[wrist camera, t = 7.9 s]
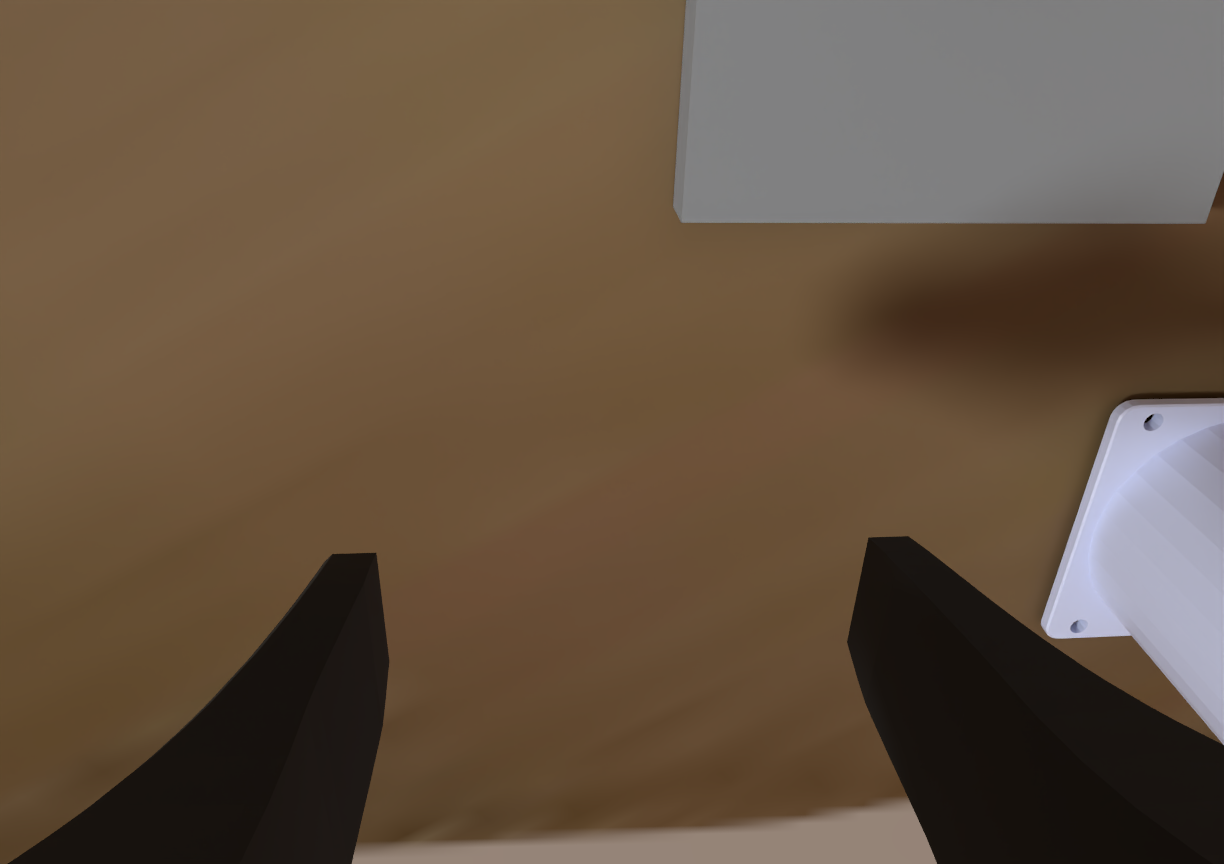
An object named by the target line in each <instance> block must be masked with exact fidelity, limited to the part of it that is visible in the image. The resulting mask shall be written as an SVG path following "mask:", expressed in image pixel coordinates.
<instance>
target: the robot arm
mask: <svg viewBox="0 0 1224 864" xmlns="http://www.w3.org/2000/svg"><path fill="white" fill-rule="evenodd" d="M1152 414H1154V416H1153V417H1152V419H1151V420H1149V421H1148V422H1147V423H1144V421H1145V420H1146V418H1147V417H1149V416H1150V415H1152ZM1077 620H1078V621H1077ZM1076 621H1077V622H1076ZM1074 622H1075V623H1074ZM1041 625H1042V627H1043V629H1044V631H1045V632H1046V633H1047V635H1048V636H1050V637H1052V638H1057V639H1059V638H1083V637H1107V636H1130V635H1132V636H1133V638H1134V639H1135V640H1136V641H1137V642H1138V644H1139V645H1140V646H1141V647H1142V648H1143V650H1144V651H1145V652H1146V653H1147V654H1148V655H1149V657H1150V658H1151V659H1152V660H1153V661H1154V663H1155V664H1156V665H1157V666H1158V667H1159V669H1160V670H1161V671H1162V672H1163V673H1164V674H1165V676H1166V677H1167V678H1168V679H1169V680H1170V682H1171V683H1172V684H1173V685H1174V686H1175V688H1176V689H1177V690H1178V691H1179V692H1180V693H1181V695H1182V696H1183V697H1184V698H1185V699H1186V701H1187V702H1188V703H1189V704H1190V705H1191V707H1192V708H1193V709H1194V710H1195V711H1196V712H1197V714H1198V715H1199V716H1200V717H1201V718H1202V720H1203V721H1204V722H1205V723H1206V724H1207V726H1208V727H1209V728H1210V729H1211V730H1212V731H1213V733H1214V734H1215V735H1216V736H1217V737H1218V739H1219V740H1220V741H1221V742H1222V743H1223V745H1222V744H1220V743H1218V742H1217V741H1215V740H1213V739H1211V738H1209V737H1207V736H1205V735H1203V734H1201V733H1199V732H1197V731H1195V730H1193V729H1191V728H1189V727H1187V726H1185V725H1183V724H1181V723H1179V722H1177V721H1175V720H1173V719H1171V718H1170V717H1168V716H1166V715H1164V714H1162V713H1160V712H1159V711H1157V710H1155V709H1153V708H1151V707H1149V706H1148V705H1146V704H1144V703H1143V702H1141V701H1139V700H1138V699H1136V698H1134V697H1133V696H1131V695H1129V694H1127V693H1126V692H1124V691H1122V690H1121V689H1119V688H1117V687H1116V686H1114V685H1112V684H1111V683H1109V682H1107V681H1105V680H1104V679H1102V678H1101V677H1099V676H1098V675H1096V674H1094V673H1093V672H1091V671H1090V670H1088V669H1087V668H1085V667H1083V666H1082V665H1080V664H1079V663H1077V662H1076V661H1075V660H1073V659H1072V658H1070V657H1069V656H1067V655H1066V654H1064V653H1063V652H1061V651H1060V650H1058V649H1057V648H1055V647H1054V646H1053V645H1051V644H1050V643H1048V642H1047V641H1045V640H1044V639H1042V638H1041V637H1040V636H1038V635H1037V634H1036V633H1034V632H1033V631H1031V630H1030V629H1029V628H1027V627H1026V626H1024V625H1023V624H1022V623H1020V622H1019V621H1018V620H1016V619H1015V618H1014V617H1012V616H1011V615H1010V614H1008V613H1007V612H1006V611H1004V610H1003V609H1002V608H1000V607H999V606H998V605H997V604H995V603H994V602H993V601H991V600H990V599H989V598H987V597H986V596H985V595H984V594H982V593H981V592H980V591H978V590H977V589H976V588H975V587H973V586H972V585H971V584H970V583H968V582H967V581H966V580H964V579H963V578H962V577H961V576H959V575H958V574H957V573H956V572H954V571H953V570H952V569H951V568H949V567H948V566H947V565H945V564H944V563H943V562H942V561H940V560H939V559H938V558H937V557H935V556H934V555H933V554H931V553H930V552H929V551H928V550H926V549H925V548H924V547H922V546H921V545H920V544H918V543H917V542H915V541H914V540H913V539H911V538H910V537H908V536H905V537H873V538H868V543H867V548H866V553H865V557H864V562H863V567H862V572H861V577H860V582H859V587H858V592H857V596H856V601H855V606H854V611H853V616H852V621H851V626H850V631H849V635H848V640H847V643H848V647H849V650H850V654H851V657H852V661H853V664H854V668H855V671H856V675H857V678H858V681H859V684H860V688H861V691H862V694H863V697H864V700H865V703H866V705H867V708H868V710H869V712H870V715H871V717H872V719H873V721H874V724H875V726H876V728H877V730H878V733H879V735H880V737H881V739H882V741H883V744H884V746H885V748H886V750H887V752H888V755H889V757H890V759H891V761H892V763H893V765H894V768H895V770H896V772H897V774H898V776H899V778H900V781H901V783H902V785H903V787H904V789H905V792H906V794H907V796H908V798H909V800H910V802H911V805H912V807H913V809H914V811H915V813H916V815H917V817H918V820H919V822H920V824H921V826H922V828H923V831H924V833H925V835H926V837H927V840H928V842H929V845H930V847H931V849H932V852H933V854H934V857H935V859H936V862H937V864H1224V398H1194V399H1135V400H1129V401H1125V402H1123V403H1122V404H1120V405H1118V406H1117V407H1116V408H1115V409H1114V410H1113V412H1112V414H1111V416H1110V418H1109V421H1108V424H1107V427H1106V430H1105V433H1104V436H1103V439H1102V442H1101V445H1100V448H1099V451H1098V454H1097V457H1096V460H1095V463H1094V466H1093V469H1092V472H1091V475H1090V478H1089V481H1088V484H1087V487H1086V489H1085V492H1084V495H1083V498H1082V501H1081V504H1080V507H1079V510H1078V513H1077V516H1076V519H1075V522H1074V525H1073V528H1072V531H1071V534H1070V537H1069V540H1068V543H1067V546H1066V549H1065V552H1064V555H1063V558H1062V561H1061V564H1060V567H1059V570H1058V573H1057V575H1056V578H1055V581H1054V584H1053V587H1052V590H1051V593H1050V596H1049V599H1048V602H1047V605H1046V608H1045V611H1044V614H1043V617H1042V620H1041ZM388 668H389V655H388V647H387V639H386V630H385V622H384V614H383V605H382V597H381V589H380V580H379V572H378V563H377V555H376V553H356V554H332V555H331V556H330V557H329V558H328V559H327V560H326V561H325V562H324V563H323V565H322V566H321V568H320V569H319V570H318V572H317V573H316V575H315V576H314V577H313V579H312V580H311V581H310V583H309V584H308V586H307V587H306V588H305V590H304V591H303V592H302V594H301V595H300V596H299V598H298V599H297V600H296V602H295V603H294V604H293V605H292V607H291V608H290V609H289V611H288V612H287V613H286V614H285V616H284V617H283V618H282V620H281V621H280V622H279V623H278V624H277V626H276V627H275V628H274V629H273V631H272V632H271V633H270V634H269V635H268V637H267V638H266V639H265V640H264V641H263V643H262V644H261V645H260V646H259V648H258V649H257V650H256V651H255V652H254V654H253V655H252V656H251V657H250V658H249V659H248V660H247V662H246V663H245V664H244V665H243V666H242V667H241V668H240V669H239V670H238V671H237V672H236V674H235V675H234V676H233V677H232V678H231V679H230V680H229V681H228V682H227V683H226V684H225V685H224V687H223V688H222V689H221V690H220V691H219V692H218V693H217V694H216V695H215V696H214V697H213V699H212V700H211V701H210V702H209V703H208V704H207V705H206V706H205V707H204V708H203V709H202V710H201V711H200V712H199V713H198V714H197V715H196V716H195V717H194V718H193V719H192V720H191V721H190V722H189V723H188V724H186V725H185V726H184V727H183V728H182V729H181V730H180V731H179V732H178V733H177V734H176V735H175V736H174V737H173V738H172V739H170V740H169V741H168V742H167V743H166V744H165V745H164V746H163V747H162V748H161V749H160V750H158V751H157V752H156V753H155V754H154V755H153V756H152V757H151V758H149V759H148V760H147V761H146V762H145V763H143V764H142V765H141V766H140V767H139V768H137V769H136V770H135V771H134V772H133V773H131V774H130V775H129V776H128V777H126V778H125V779H124V780H123V781H121V782H120V783H119V784H118V785H116V786H115V787H114V788H113V789H111V790H110V791H109V792H108V793H106V794H105V795H104V796H102V797H101V798H100V799H99V800H97V801H96V802H95V803H94V804H92V805H91V806H90V807H89V808H87V809H86V810H85V811H83V812H82V813H80V814H79V815H78V816H76V817H75V818H74V819H72V820H71V821H69V822H68V823H67V824H65V825H64V826H62V827H61V828H60V829H58V830H57V831H55V832H54V833H53V834H51V835H50V836H48V837H47V838H45V839H44V840H42V841H41V842H39V843H38V844H36V845H35V846H33V847H32V848H30V849H29V850H28V851H26V852H25V853H23V854H22V855H20V856H19V857H17V858H16V859H14V860H13V861H11V862H10V863H8V864H352V859H353V855H354V850H355V846H356V842H357V837H358V833H359V829H360V824H361V820H362V816H363V811H364V807H365V802H366V798H367V794H368V789H369V785H370V781H371V776H372V772H373V767H374V763H375V758H376V754H377V749H378V745H379V740H380V736H381V731H382V726H383V718H384V709H385V699H386V689H387V679H388Z"/></svg>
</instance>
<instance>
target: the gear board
mask: <svg viewBox="0 0 1224 864" xmlns="http://www.w3.org/2000/svg"><path fill="white" fill-rule="evenodd" d="M1223 172H1224V0H686V12H685V27H684V43H683V59H682V75H681V91H680V107H679V122H678V138H677V154H676V170H675V186H674V202H673V207H674V209H675V211H676V213H677V215H678V217H679V219H680V221H681V223H1145V224H1205V223H1206V220H1207V217H1208V215H1209V212H1210V209H1211V206H1212V203H1213V200H1214V198H1215V195H1216V192H1217V189H1218V186H1219V183H1220V181H1221V178H1222V175H1223Z"/></svg>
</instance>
